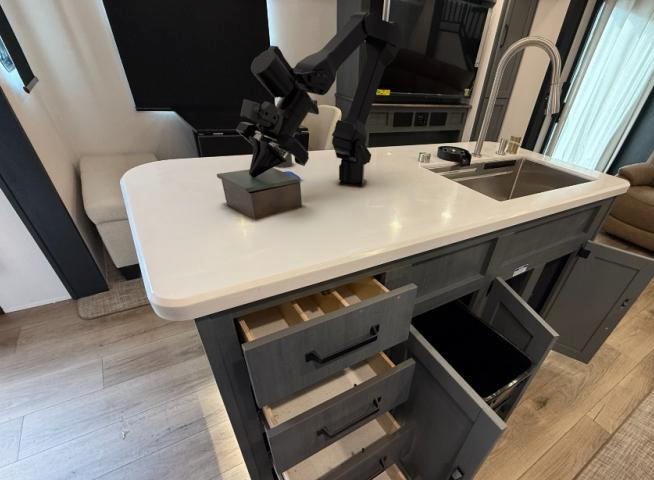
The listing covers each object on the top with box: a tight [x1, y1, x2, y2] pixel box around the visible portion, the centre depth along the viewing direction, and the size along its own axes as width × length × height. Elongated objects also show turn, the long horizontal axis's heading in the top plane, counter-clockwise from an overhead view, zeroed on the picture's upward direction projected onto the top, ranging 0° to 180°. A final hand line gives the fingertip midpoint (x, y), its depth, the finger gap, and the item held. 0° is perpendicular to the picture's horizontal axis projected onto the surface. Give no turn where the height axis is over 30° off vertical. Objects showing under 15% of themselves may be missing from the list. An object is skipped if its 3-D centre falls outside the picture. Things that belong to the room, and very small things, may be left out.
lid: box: [216, 167, 301, 192], centre depth 71 cm, size 13×11×1 cm
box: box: [221, 180, 303, 221], centre depth 73 cm, size 12×11×6 cm
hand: (251, 176), depth 69 cm, fingers closed, pressing on lid
